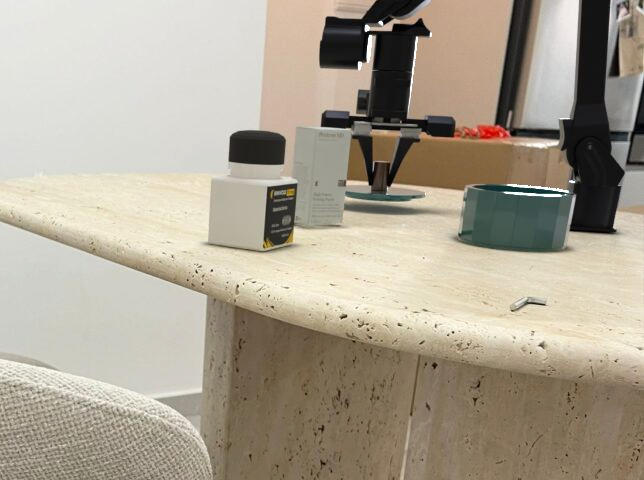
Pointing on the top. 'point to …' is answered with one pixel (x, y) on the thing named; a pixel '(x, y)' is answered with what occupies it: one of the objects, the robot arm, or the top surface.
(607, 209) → the robot arm
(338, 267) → the top surface
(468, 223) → the tin
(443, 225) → the top surface
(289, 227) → the medicine bottle
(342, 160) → the cosmetic box
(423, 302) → the top surface
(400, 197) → the lid
